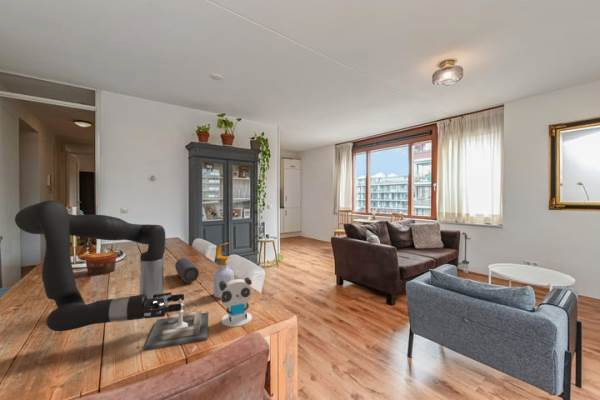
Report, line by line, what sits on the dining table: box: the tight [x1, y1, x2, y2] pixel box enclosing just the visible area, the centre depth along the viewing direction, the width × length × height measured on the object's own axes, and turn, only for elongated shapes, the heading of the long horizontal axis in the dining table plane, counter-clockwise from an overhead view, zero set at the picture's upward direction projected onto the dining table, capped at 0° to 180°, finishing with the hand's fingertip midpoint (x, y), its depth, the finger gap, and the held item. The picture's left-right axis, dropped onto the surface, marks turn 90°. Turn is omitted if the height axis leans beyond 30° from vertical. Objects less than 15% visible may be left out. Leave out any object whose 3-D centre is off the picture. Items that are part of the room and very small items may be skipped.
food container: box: [83, 251, 118, 276], centre depth 156 cm, size 16×16×11 cm
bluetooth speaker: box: [174, 257, 200, 283], centre depth 144 cm, size 23×9×10 cm, turn 34°
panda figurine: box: [219, 277, 253, 328], centre depth 98 cm, size 12×11×15 cm
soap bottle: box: [213, 242, 235, 299], centre depth 121 cm, size 9×9×25 cm
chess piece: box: [172, 299, 188, 329], centre depth 90 cm, size 5×5×10 cm
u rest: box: [144, 310, 209, 351], centre depth 90 cm, size 18×18×3 cm
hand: (182, 301), depth 90 cm, fingers open, 8 cm apart
